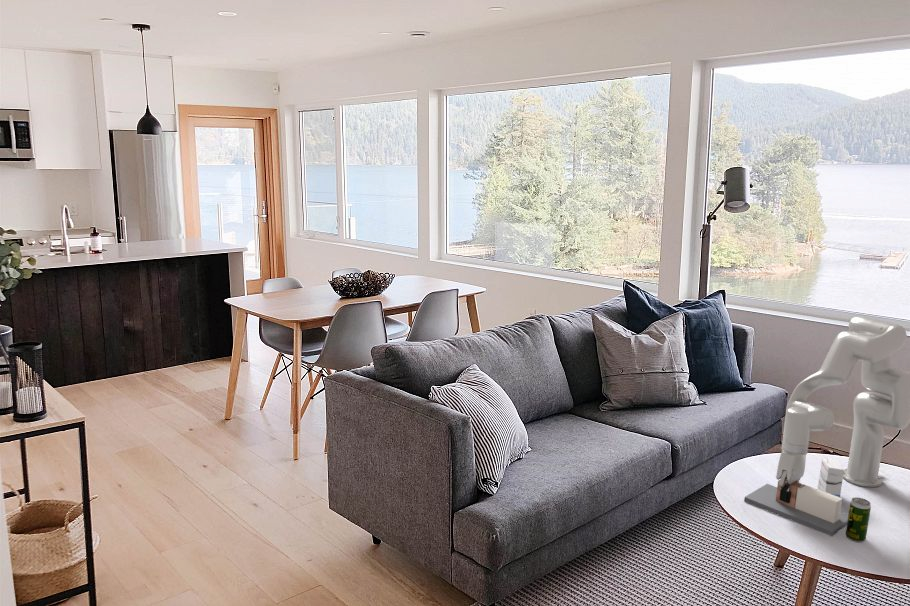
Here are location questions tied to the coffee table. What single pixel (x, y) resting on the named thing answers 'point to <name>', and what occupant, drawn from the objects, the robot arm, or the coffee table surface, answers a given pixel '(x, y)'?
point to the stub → (793, 493)
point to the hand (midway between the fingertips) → (788, 498)
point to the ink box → (830, 477)
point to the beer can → (858, 520)
